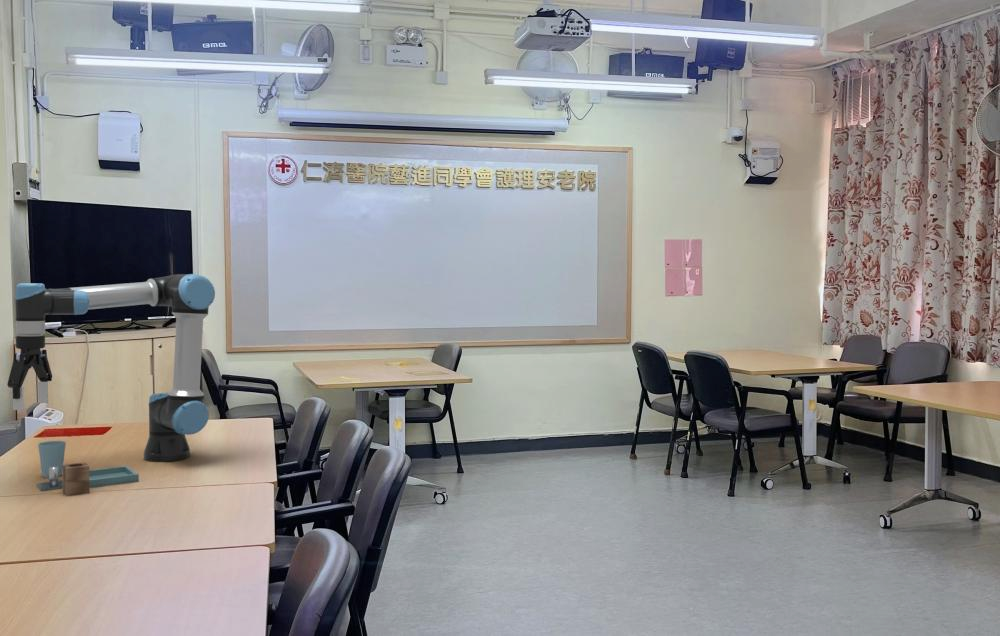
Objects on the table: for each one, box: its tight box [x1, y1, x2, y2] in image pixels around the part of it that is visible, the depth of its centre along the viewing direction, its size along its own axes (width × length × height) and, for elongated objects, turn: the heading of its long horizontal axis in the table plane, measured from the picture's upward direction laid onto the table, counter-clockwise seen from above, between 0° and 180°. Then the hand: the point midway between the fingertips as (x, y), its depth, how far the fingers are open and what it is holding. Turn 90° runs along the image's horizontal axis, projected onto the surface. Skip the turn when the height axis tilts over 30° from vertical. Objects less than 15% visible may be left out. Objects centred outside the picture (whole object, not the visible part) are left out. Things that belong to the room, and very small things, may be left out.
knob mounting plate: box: [36, 466, 63, 492], centre depth 242 cm, size 8×8×6 cm
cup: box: [37, 440, 67, 478], centre depth 254 cm, size 8×8×10 cm
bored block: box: [62, 461, 91, 497], centre depth 235 cm, size 6×6×8 cm
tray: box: [89, 465, 140, 489], centre depth 250 cm, size 14×14×2 cm
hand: (30, 406), depth 239 cm, fingers open, 13 cm apart
